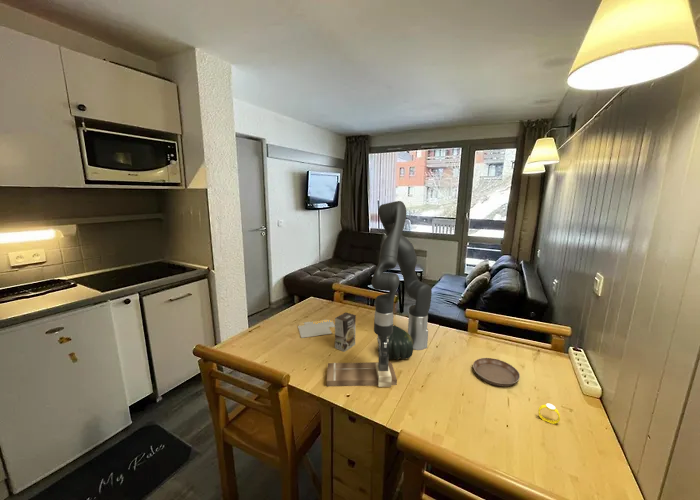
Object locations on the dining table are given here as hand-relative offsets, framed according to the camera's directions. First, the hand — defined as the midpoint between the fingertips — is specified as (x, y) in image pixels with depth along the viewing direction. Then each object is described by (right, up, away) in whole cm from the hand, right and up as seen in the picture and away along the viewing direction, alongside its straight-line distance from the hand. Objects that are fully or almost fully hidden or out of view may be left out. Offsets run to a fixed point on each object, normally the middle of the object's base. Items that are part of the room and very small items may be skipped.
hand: (382, 358), depth 118 cm
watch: (+54, -14, -20) cm, 60 cm away
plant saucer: (+48, -10, +5) cm, 50 cm away
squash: (+9, -6, +19) cm, 22 cm away
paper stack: (-30, 0, +49) cm, 57 cm away
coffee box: (-15, -4, +27) cm, 31 cm away
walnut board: (-9, -9, +3) cm, 13 cm away
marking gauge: (+1, -9, +1) cm, 9 cm away
